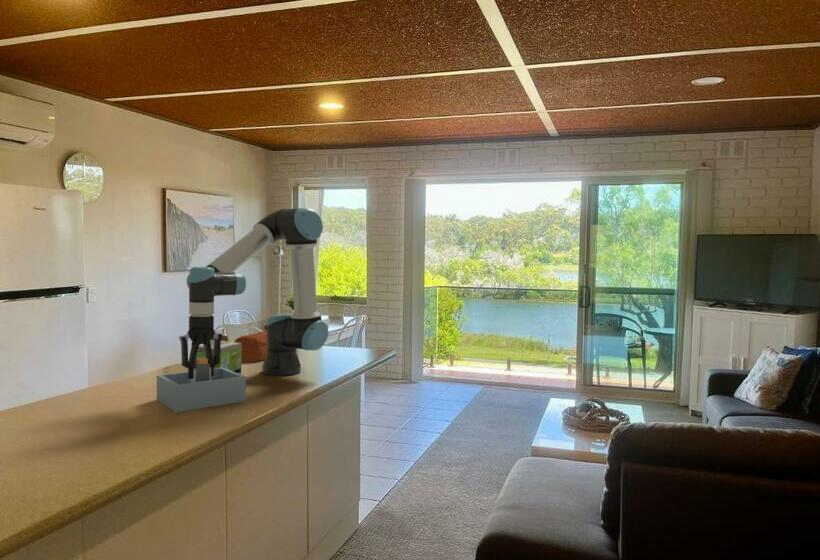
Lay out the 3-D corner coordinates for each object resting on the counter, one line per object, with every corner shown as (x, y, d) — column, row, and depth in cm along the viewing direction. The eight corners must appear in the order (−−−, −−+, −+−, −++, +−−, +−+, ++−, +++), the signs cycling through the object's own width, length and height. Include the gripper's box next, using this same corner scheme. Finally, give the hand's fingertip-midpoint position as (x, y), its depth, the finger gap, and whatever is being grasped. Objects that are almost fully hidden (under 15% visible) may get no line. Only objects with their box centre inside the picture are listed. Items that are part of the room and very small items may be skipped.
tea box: (220, 390, 204) (220, 348, 203) (194, 388, 206) (194, 346, 205) (242, 381, 219) (242, 341, 218) (217, 379, 221) (217, 340, 220)
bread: (227, 360, 259) (227, 336, 259) (261, 350, 285) (261, 328, 284) (258, 363, 254) (258, 338, 254) (290, 353, 280) (290, 330, 279)
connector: (209, 389, 190) (209, 359, 190) (196, 391, 187) (197, 360, 187) (204, 387, 193) (204, 357, 193) (192, 389, 190) (192, 358, 190)
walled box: (222, 390, 205) (223, 367, 204) (245, 401, 191) (245, 376, 190) (156, 399, 190) (156, 375, 190) (176, 412, 177) (176, 385, 176)
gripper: (222, 312, 197) (221, 382, 199) (170, 315, 186) (169, 388, 188) (231, 315, 192) (231, 386, 193) (178, 317, 181) (177, 393, 182)
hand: (200, 387), depth 190 cm, fingers closed on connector, 4 cm apart
